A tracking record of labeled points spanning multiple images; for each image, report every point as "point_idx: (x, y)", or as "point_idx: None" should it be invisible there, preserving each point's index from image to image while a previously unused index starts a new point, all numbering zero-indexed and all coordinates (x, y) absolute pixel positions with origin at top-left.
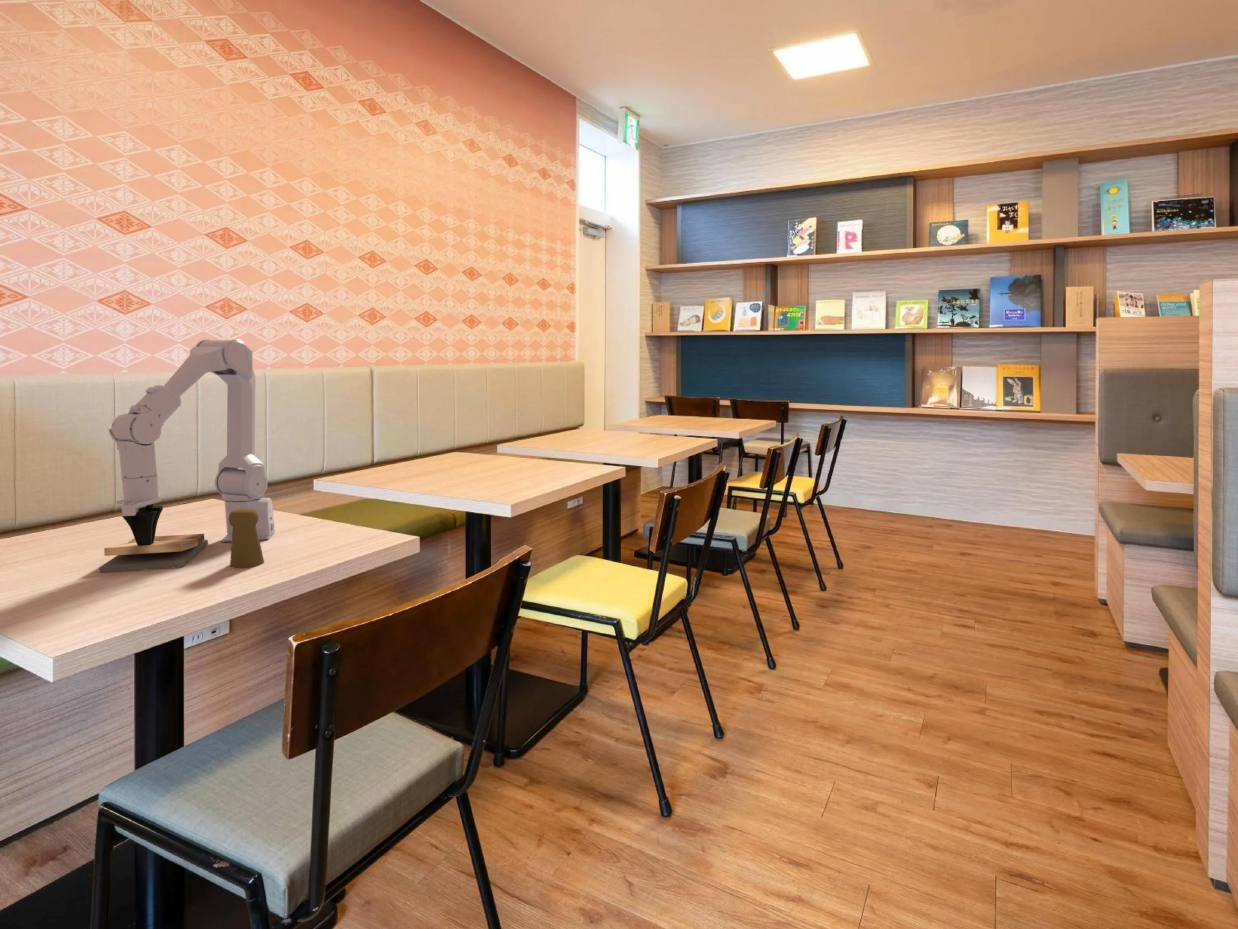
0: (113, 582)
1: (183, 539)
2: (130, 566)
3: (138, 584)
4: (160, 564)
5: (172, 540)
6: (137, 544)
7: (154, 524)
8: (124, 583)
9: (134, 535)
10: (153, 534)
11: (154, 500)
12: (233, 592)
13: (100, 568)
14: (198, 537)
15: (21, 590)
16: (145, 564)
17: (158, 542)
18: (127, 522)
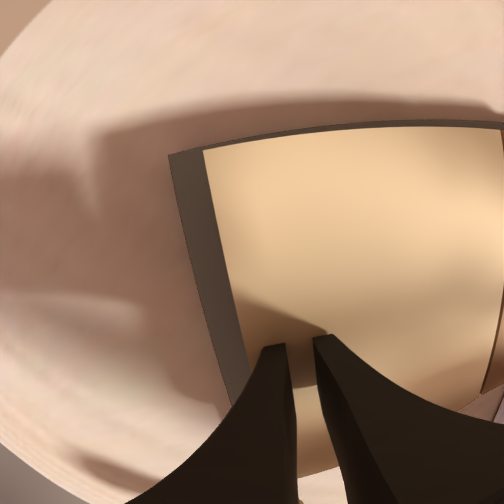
0: (66, 294)
1: (493, 354)
2: (200, 289)
3: (68, 372)
4: (228, 390)
5: (486, 334)
6: (261, 351)
7: (347, 493)
8: (65, 333)
9: (243, 392)
10: (331, 435)
11: None
12: (90, 497)
13: (172, 160)
14: (496, 384)
15: (17, 55)
16: (216, 346)
17: (433, 334)
18: (167, 477)
